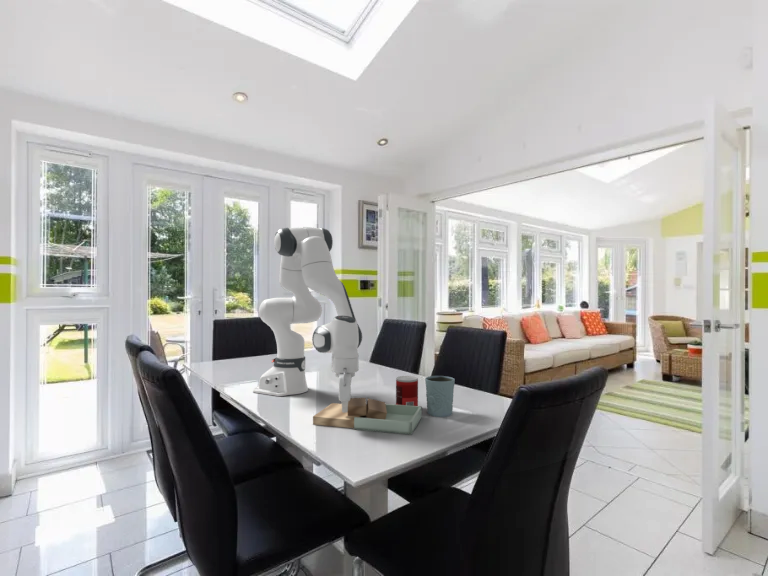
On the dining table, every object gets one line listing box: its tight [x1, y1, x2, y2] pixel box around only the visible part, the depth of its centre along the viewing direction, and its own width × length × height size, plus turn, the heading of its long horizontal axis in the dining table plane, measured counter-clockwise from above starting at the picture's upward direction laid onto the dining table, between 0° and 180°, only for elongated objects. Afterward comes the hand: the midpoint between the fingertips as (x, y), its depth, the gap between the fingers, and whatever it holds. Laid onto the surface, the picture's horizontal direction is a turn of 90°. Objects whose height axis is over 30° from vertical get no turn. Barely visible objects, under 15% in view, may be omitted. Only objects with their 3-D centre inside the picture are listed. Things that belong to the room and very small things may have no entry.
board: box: [312, 402, 365, 429], centre depth 138 cm, size 14×16×2 cm
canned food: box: [395, 375, 419, 406], centre depth 150 cm, size 8×8×11 cm
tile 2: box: [366, 397, 387, 420], centre depth 138 cm, size 6×10×3 cm, turn 4°
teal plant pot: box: [424, 375, 456, 418], centre depth 145 cm, size 10×10×12 cm
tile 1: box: [348, 397, 367, 416], centre depth 139 cm, size 6×10×3 cm, turn 4°
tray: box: [353, 403, 423, 436], centre depth 134 cm, size 18×18×4 cm
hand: (345, 407), depth 138 cm, fingers open, 8 cm apart
